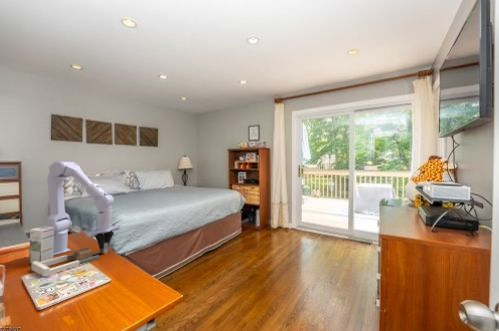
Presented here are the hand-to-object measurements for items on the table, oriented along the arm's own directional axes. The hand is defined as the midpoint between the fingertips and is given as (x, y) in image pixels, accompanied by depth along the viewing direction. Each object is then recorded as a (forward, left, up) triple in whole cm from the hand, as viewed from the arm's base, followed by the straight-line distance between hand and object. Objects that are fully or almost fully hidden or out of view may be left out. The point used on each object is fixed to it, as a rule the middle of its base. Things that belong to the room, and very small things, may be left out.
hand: (103, 247), depth 108 cm
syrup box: (-13, -19, -3) cm, 23 cm away
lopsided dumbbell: (0, -5, -2) cm, 6 cm away
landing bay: (0, -9, -2) cm, 9 cm away
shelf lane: (0, -18, -2) cm, 18 cm away
